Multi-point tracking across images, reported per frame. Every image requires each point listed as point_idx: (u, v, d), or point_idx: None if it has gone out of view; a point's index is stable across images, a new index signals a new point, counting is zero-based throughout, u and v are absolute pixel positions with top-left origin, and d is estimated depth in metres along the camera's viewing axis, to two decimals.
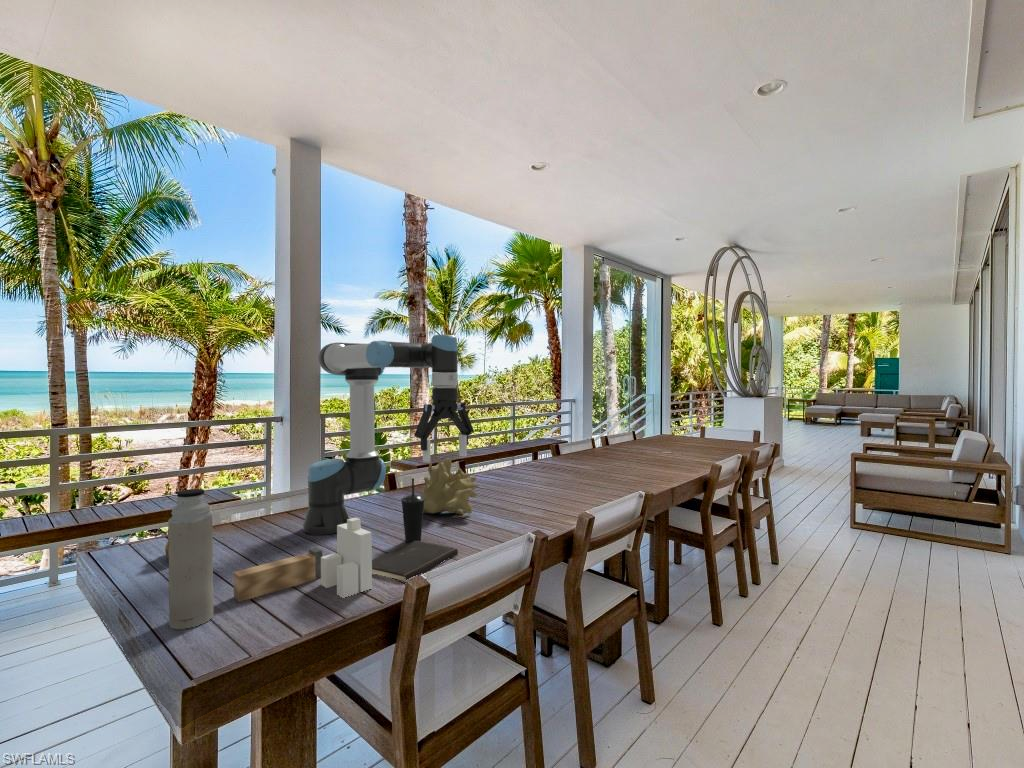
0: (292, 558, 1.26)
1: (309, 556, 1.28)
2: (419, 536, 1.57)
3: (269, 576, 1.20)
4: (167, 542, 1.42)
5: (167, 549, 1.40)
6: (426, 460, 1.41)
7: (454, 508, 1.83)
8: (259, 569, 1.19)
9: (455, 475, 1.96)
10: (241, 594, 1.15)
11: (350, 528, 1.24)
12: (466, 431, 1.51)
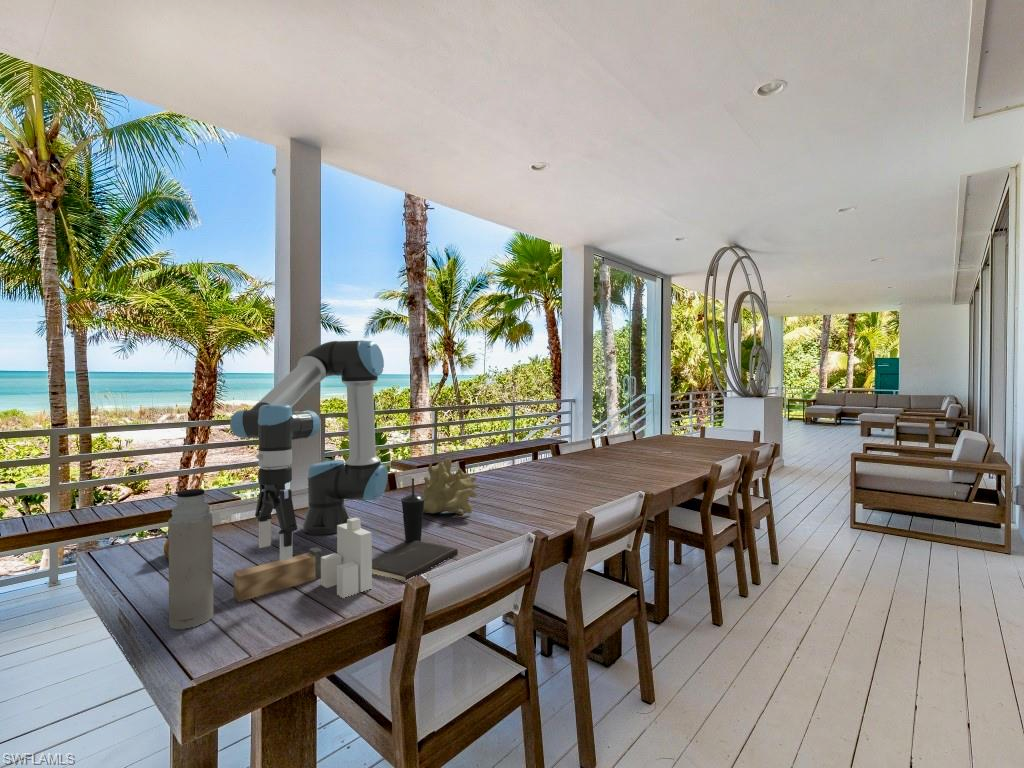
0: (292, 558, 1.26)
1: (309, 556, 1.28)
2: (419, 536, 1.57)
3: (269, 576, 1.20)
4: None
5: (165, 549, 1.40)
6: None
7: (454, 508, 1.83)
8: (259, 569, 1.19)
9: (455, 475, 1.96)
10: (241, 594, 1.15)
11: (350, 528, 1.24)
12: (281, 528, 1.16)
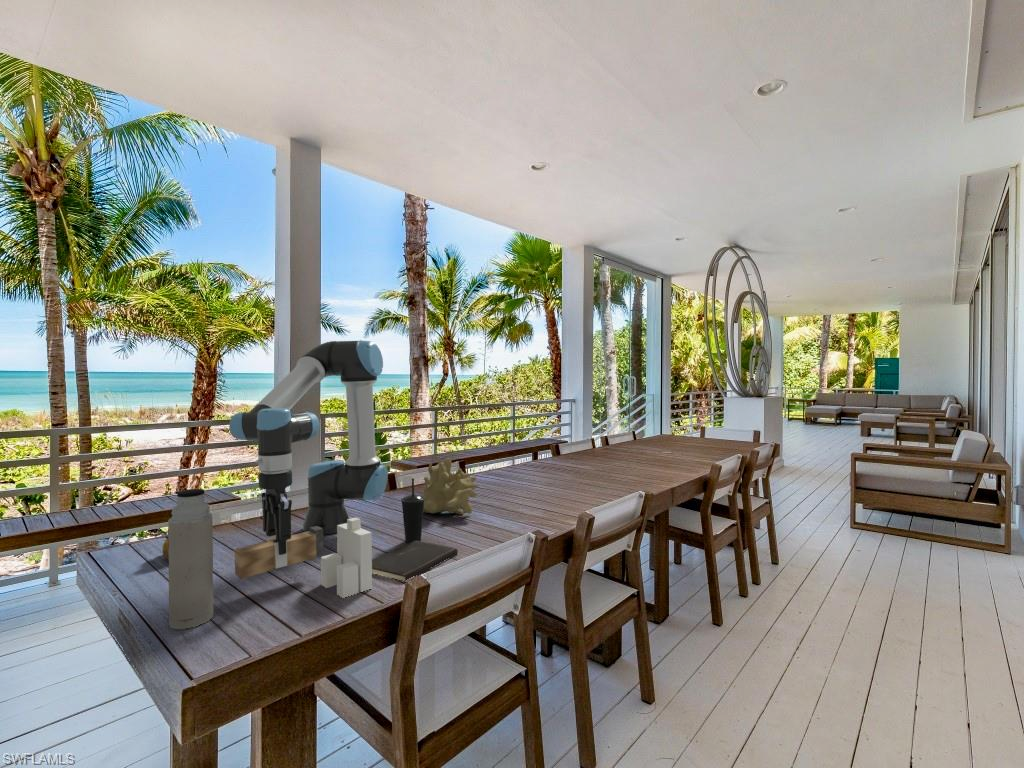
0: (293, 536, 1.27)
1: (310, 534, 1.28)
2: (419, 536, 1.57)
3: (270, 553, 1.20)
4: (164, 542, 1.43)
5: (163, 549, 1.41)
6: None
7: (454, 508, 1.83)
8: (260, 546, 1.20)
9: (455, 475, 1.96)
10: (242, 571, 1.16)
11: (350, 528, 1.24)
12: (276, 537, 1.20)
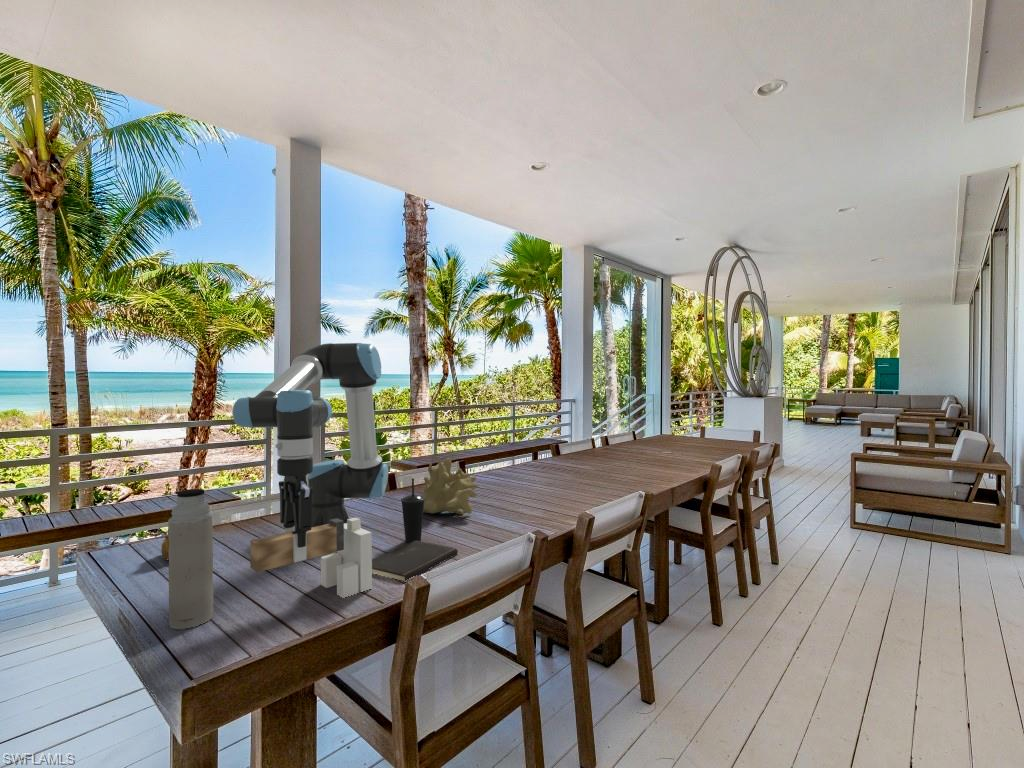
0: (312, 528, 1.18)
1: (330, 527, 1.19)
2: (419, 536, 1.57)
3: (288, 545, 1.11)
4: None
5: (162, 548, 1.41)
6: None
7: (454, 508, 1.83)
8: (278, 537, 1.11)
9: (455, 475, 1.96)
10: (258, 564, 1.06)
11: (350, 528, 1.24)
12: (295, 527, 1.11)
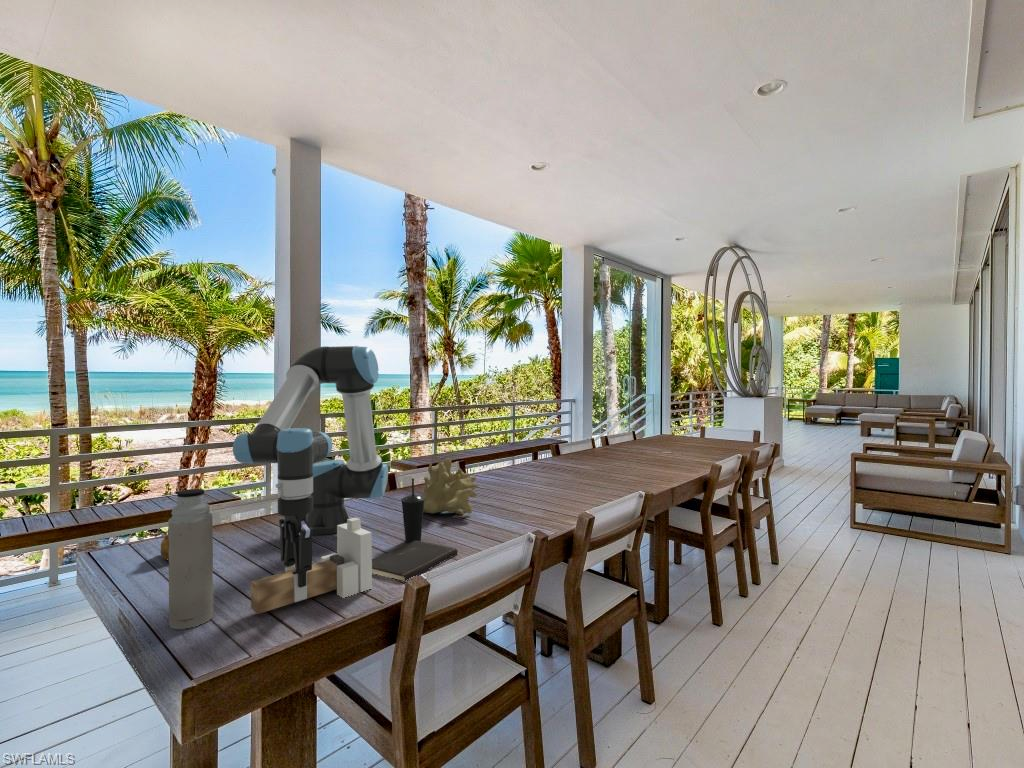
0: (312, 566, 1.18)
1: (330, 564, 1.19)
2: (419, 536, 1.57)
3: (289, 585, 1.11)
4: None
5: (161, 548, 1.41)
6: None
7: (454, 508, 1.83)
8: (278, 578, 1.11)
9: (455, 475, 1.96)
10: (259, 605, 1.07)
11: (350, 528, 1.24)
12: (296, 567, 1.11)
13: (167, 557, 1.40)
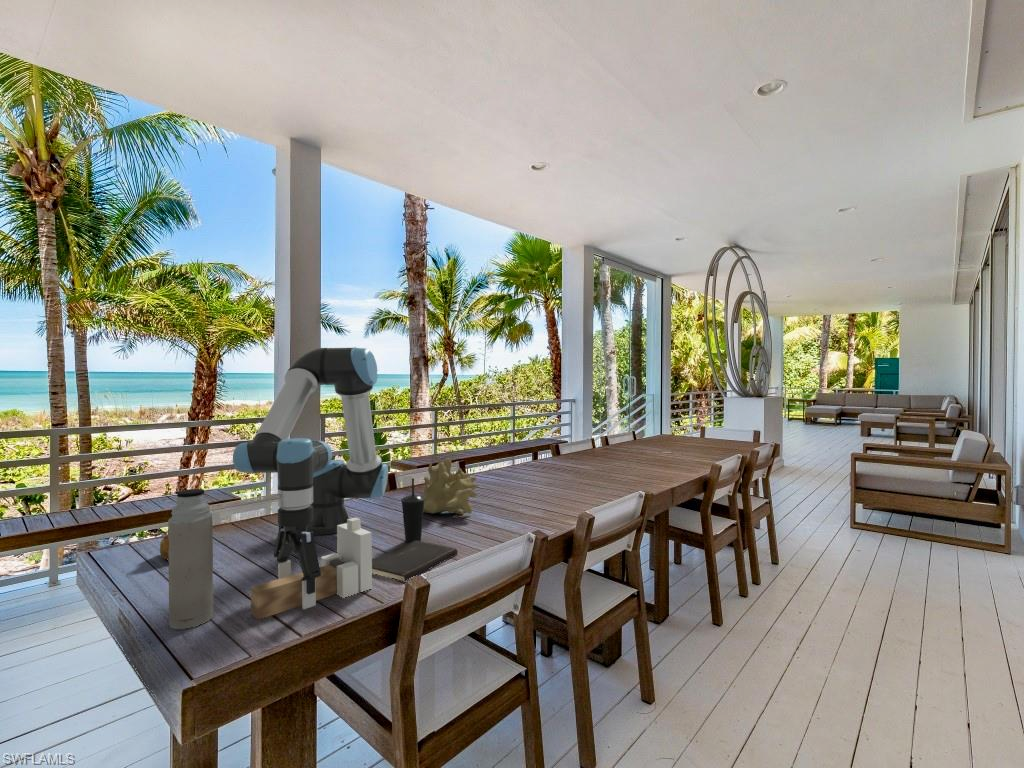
0: None
1: (330, 569, 1.19)
2: (419, 536, 1.57)
3: (289, 591, 1.11)
4: None
5: (160, 548, 1.41)
6: None
7: (454, 508, 1.83)
8: (278, 583, 1.11)
9: (455, 475, 1.96)
10: (259, 611, 1.07)
11: (350, 528, 1.24)
12: (304, 574, 1.08)
13: (166, 557, 1.40)
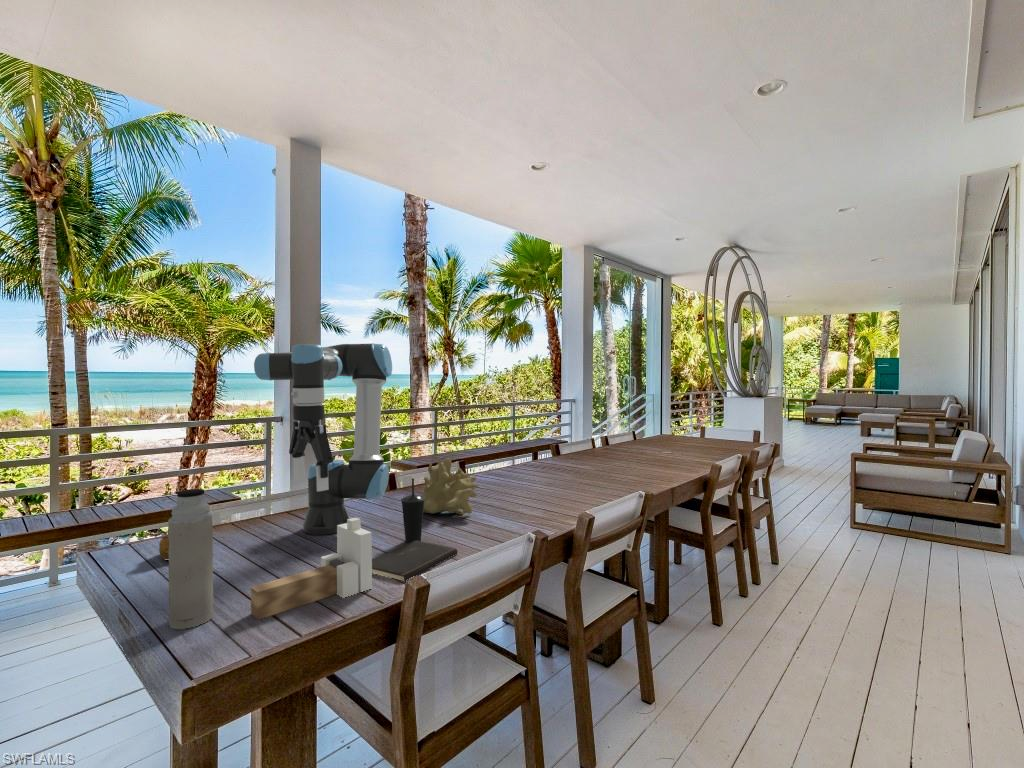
0: (312, 571, 1.18)
1: (330, 569, 1.19)
2: (419, 536, 1.57)
3: (289, 591, 1.11)
4: None
5: (159, 548, 1.41)
6: None
7: (454, 508, 1.83)
8: (278, 583, 1.11)
9: (455, 475, 1.96)
10: (259, 611, 1.07)
11: (350, 528, 1.24)
12: (318, 461, 1.22)
13: (165, 557, 1.40)
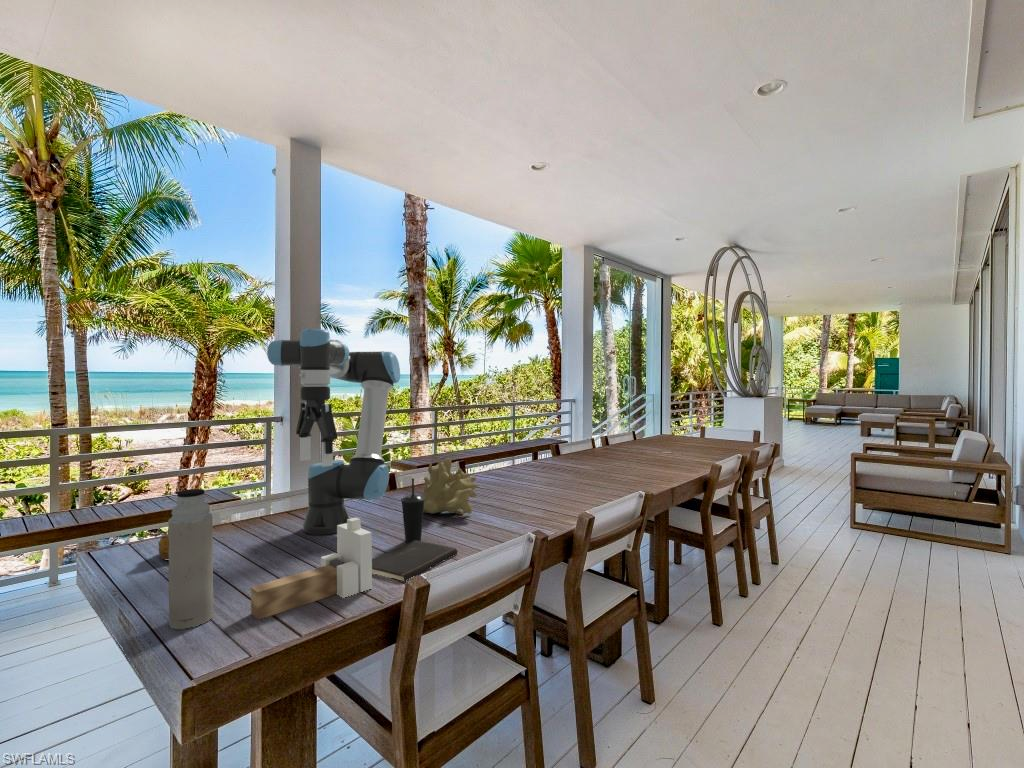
0: (312, 571, 1.18)
1: (330, 569, 1.19)
2: (419, 536, 1.57)
3: (289, 591, 1.11)
4: None
5: (159, 548, 1.41)
6: None
7: (454, 508, 1.83)
8: (278, 583, 1.11)
9: (455, 475, 1.96)
10: (259, 611, 1.07)
11: (350, 528, 1.24)
12: (323, 437, 1.30)
13: (164, 557, 1.40)
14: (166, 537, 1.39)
